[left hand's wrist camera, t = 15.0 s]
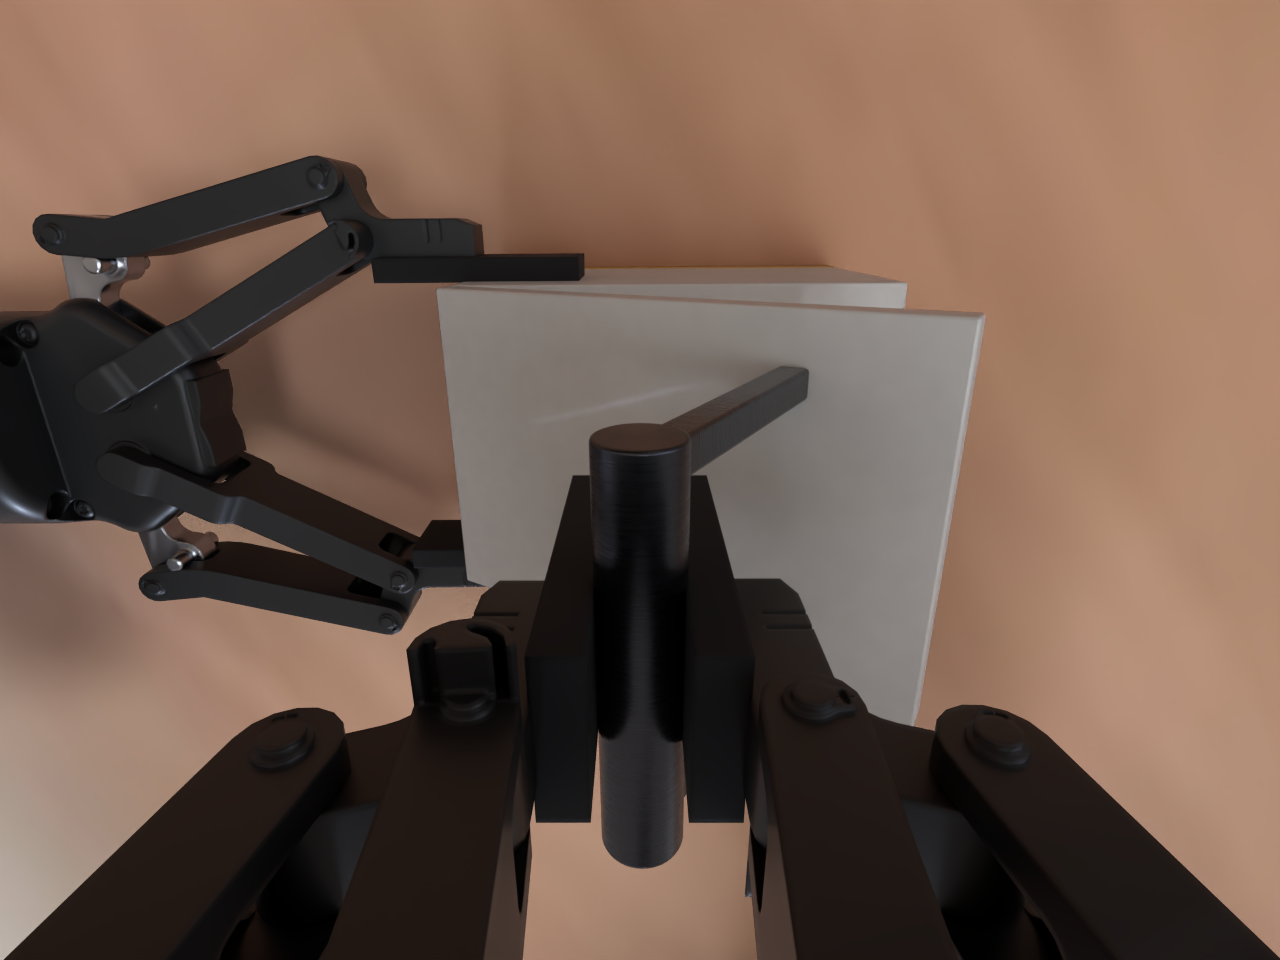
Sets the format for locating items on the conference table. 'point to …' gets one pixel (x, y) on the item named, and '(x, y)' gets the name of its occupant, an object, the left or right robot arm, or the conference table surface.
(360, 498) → the conference table surface
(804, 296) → the chest
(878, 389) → the lid
